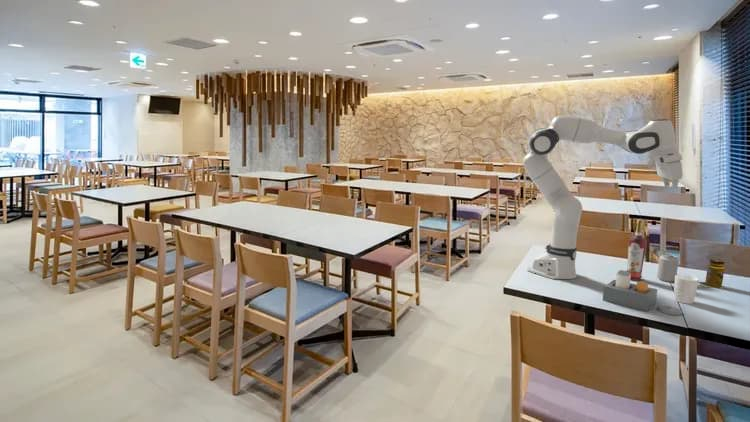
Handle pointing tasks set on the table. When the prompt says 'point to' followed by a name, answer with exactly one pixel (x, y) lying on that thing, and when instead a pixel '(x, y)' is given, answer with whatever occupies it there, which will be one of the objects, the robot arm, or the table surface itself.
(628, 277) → the cartridge
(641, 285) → the orange round ball
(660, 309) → the coaster
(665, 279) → the can
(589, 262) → the table surface
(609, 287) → the housing
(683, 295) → the white cup
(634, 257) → the liquor
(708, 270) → the condiment
